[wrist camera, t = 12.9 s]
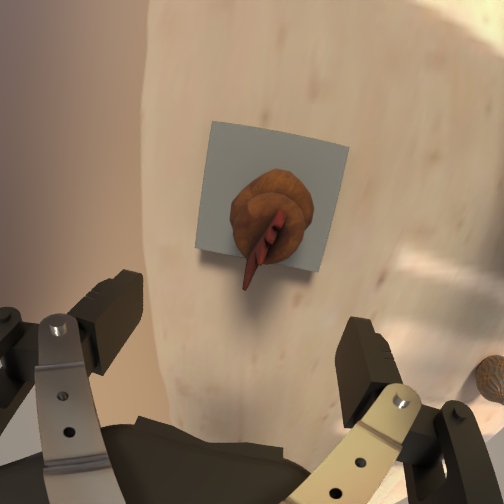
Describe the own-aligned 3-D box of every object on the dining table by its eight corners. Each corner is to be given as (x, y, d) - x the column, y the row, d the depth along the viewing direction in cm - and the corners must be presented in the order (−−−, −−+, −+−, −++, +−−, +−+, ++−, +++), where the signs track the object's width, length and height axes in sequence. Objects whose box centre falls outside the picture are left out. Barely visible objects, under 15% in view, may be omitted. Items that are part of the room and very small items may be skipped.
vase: (509, 351, 38) (532, 384, 30) (486, 381, 40) (505, 415, 32) (487, 345, 38) (511, 381, 30) (463, 378, 40) (482, 415, 32)
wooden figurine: (264, 242, 32) (246, 331, 18) (228, 196, 31) (179, 255, 17) (320, 203, 30) (349, 268, 16) (284, 154, 28) (283, 176, 15)
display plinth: (343, 145, 30) (349, 147, 28) (315, 260, 35) (318, 272, 33) (218, 121, 31) (212, 120, 28) (201, 238, 36) (194, 247, 33)
